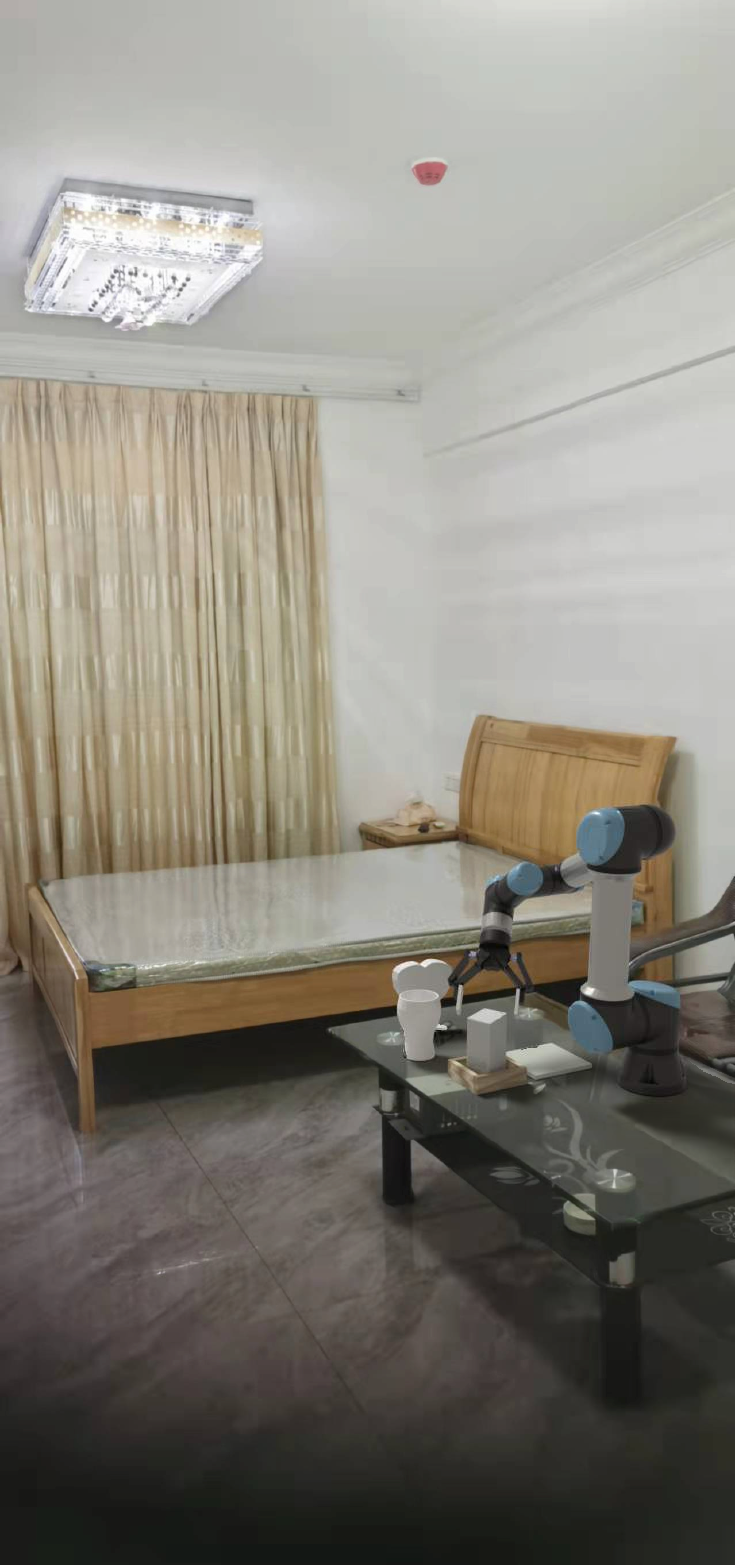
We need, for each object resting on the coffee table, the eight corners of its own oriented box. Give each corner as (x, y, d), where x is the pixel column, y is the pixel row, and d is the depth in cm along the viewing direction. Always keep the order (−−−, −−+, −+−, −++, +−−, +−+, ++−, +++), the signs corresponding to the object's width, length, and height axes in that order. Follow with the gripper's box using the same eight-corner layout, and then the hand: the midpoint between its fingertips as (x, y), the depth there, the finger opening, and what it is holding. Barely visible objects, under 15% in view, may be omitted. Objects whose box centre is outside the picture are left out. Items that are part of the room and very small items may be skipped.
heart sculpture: (445, 1022, 308) (445, 956, 306) (453, 1028, 303) (454, 961, 301) (390, 1030, 303) (390, 962, 300) (398, 1036, 298) (398, 967, 296)
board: (591, 1067, 276) (591, 1063, 276) (535, 1079, 269) (535, 1075, 268) (551, 1046, 290) (551, 1042, 290) (497, 1057, 283) (497, 1053, 283)
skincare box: (483, 1071, 274) (484, 1007, 272) (508, 1077, 270) (509, 1012, 268) (465, 1082, 267) (465, 1016, 265) (490, 1089, 263) (490, 1022, 261)
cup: (437, 1064, 278) (437, 1003, 276) (393, 1061, 280) (393, 1001, 278) (443, 1049, 288) (443, 990, 287) (401, 1046, 291) (401, 987, 289)
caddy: (526, 1084, 266) (526, 1067, 266) (476, 1094, 260) (476, 1077, 260) (496, 1066, 277) (496, 1050, 276) (447, 1076, 271) (447, 1059, 270)
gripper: (548, 946, 285) (541, 1025, 273) (447, 940, 291) (436, 1017, 279) (546, 930, 280) (539, 1011, 267) (443, 924, 285) (432, 1003, 273)
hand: (486, 1014), depth 273 cm, fingers open, 13 cm apart
